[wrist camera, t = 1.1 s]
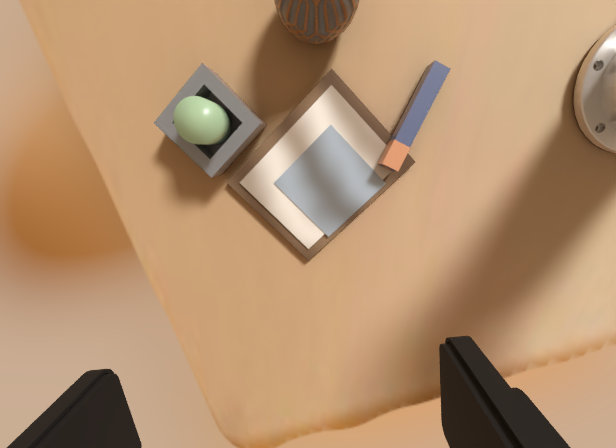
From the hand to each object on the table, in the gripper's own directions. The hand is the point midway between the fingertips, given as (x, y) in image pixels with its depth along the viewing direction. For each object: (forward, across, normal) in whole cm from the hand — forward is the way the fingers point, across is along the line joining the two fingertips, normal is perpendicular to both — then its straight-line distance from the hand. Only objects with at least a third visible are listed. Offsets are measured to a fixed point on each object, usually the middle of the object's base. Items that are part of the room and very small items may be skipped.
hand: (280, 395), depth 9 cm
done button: (+23, +8, -10) cm, 26 cm away
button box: (+24, +8, -10) cm, 27 cm away
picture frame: (+24, -2, -4) cm, 25 cm away
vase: (+25, -3, -19) cm, 31 cm away
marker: (+24, -11, -8) cm, 27 cm away
